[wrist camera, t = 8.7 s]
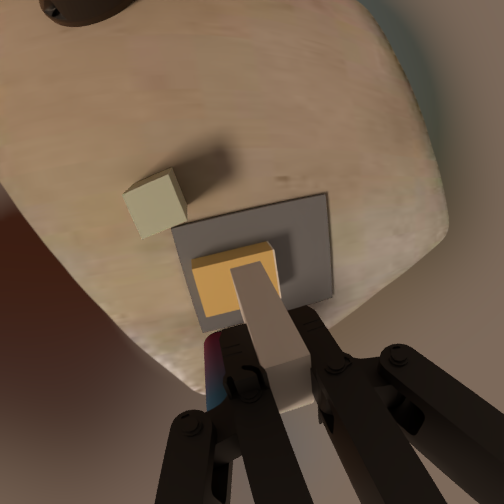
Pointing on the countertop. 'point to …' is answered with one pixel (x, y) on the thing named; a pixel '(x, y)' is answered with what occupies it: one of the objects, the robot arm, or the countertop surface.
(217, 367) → the cup
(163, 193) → the sage block
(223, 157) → the countertop surface
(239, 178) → the countertop surface
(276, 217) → the mat
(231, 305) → the ochre slab
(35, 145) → the countertop surface
